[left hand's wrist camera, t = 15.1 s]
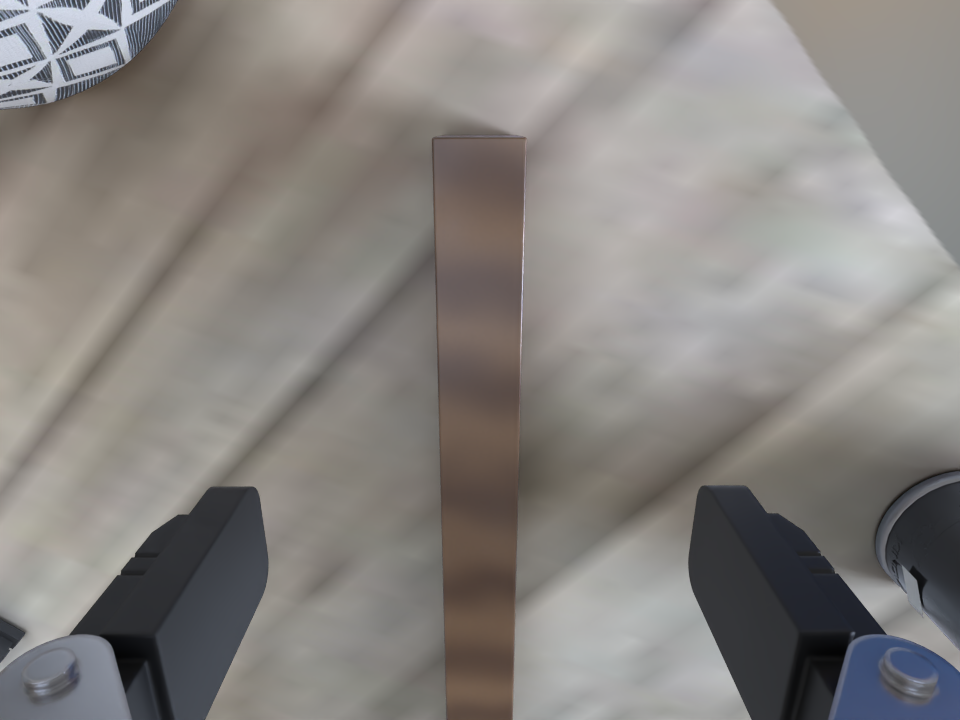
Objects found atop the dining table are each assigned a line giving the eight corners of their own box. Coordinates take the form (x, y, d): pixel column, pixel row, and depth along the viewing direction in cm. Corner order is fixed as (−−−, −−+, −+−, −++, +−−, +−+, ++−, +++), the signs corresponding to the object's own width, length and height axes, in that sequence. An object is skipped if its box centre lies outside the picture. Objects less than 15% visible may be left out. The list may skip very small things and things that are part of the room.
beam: (441, 135, 34) (431, 137, 27) (518, 135, 34) (526, 137, 27) (455, 848, 53) (452, 948, 47) (503, 848, 53) (507, 948, 47)
